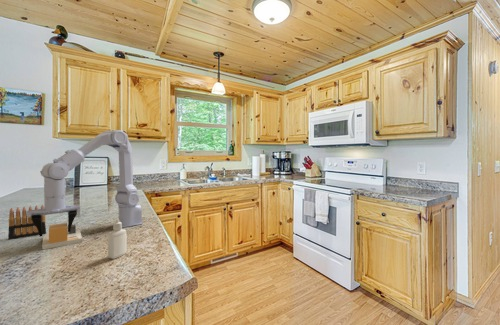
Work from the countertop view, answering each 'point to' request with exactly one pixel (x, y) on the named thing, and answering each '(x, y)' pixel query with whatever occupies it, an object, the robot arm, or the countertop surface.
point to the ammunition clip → (23, 224)
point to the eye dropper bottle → (117, 241)
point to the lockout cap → (57, 233)
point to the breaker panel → (72, 239)
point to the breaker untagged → (73, 229)
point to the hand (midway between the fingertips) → (55, 233)
